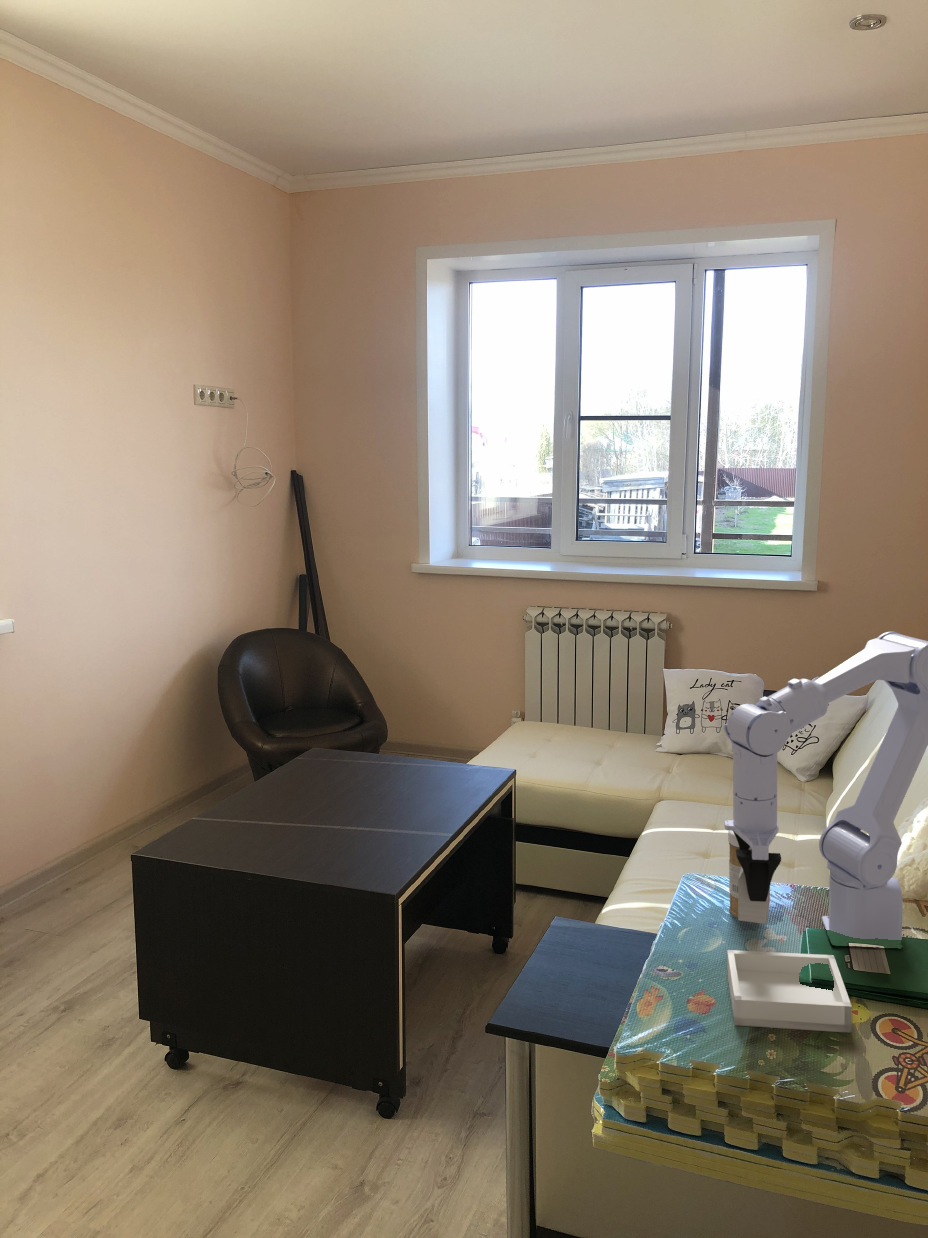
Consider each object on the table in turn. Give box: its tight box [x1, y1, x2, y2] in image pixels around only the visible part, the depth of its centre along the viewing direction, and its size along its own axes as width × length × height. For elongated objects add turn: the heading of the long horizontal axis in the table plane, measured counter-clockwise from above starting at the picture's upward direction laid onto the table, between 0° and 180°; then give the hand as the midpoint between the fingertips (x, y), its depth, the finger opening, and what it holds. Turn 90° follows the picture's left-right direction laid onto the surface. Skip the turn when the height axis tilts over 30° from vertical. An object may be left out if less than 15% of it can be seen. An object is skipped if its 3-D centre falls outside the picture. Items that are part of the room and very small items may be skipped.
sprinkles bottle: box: [727, 830, 741, 919], centre depth 143 cm, size 5×5×14 cm
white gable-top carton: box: [737, 847, 771, 925], centre depth 130 cm, size 4×7×10 cm, turn 159°
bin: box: [726, 949, 853, 1034], centre depth 121 cm, size 14×12×4 cm
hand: (754, 886), depth 130 cm, fingers closed on white gable-top carton, 7 cm apart
